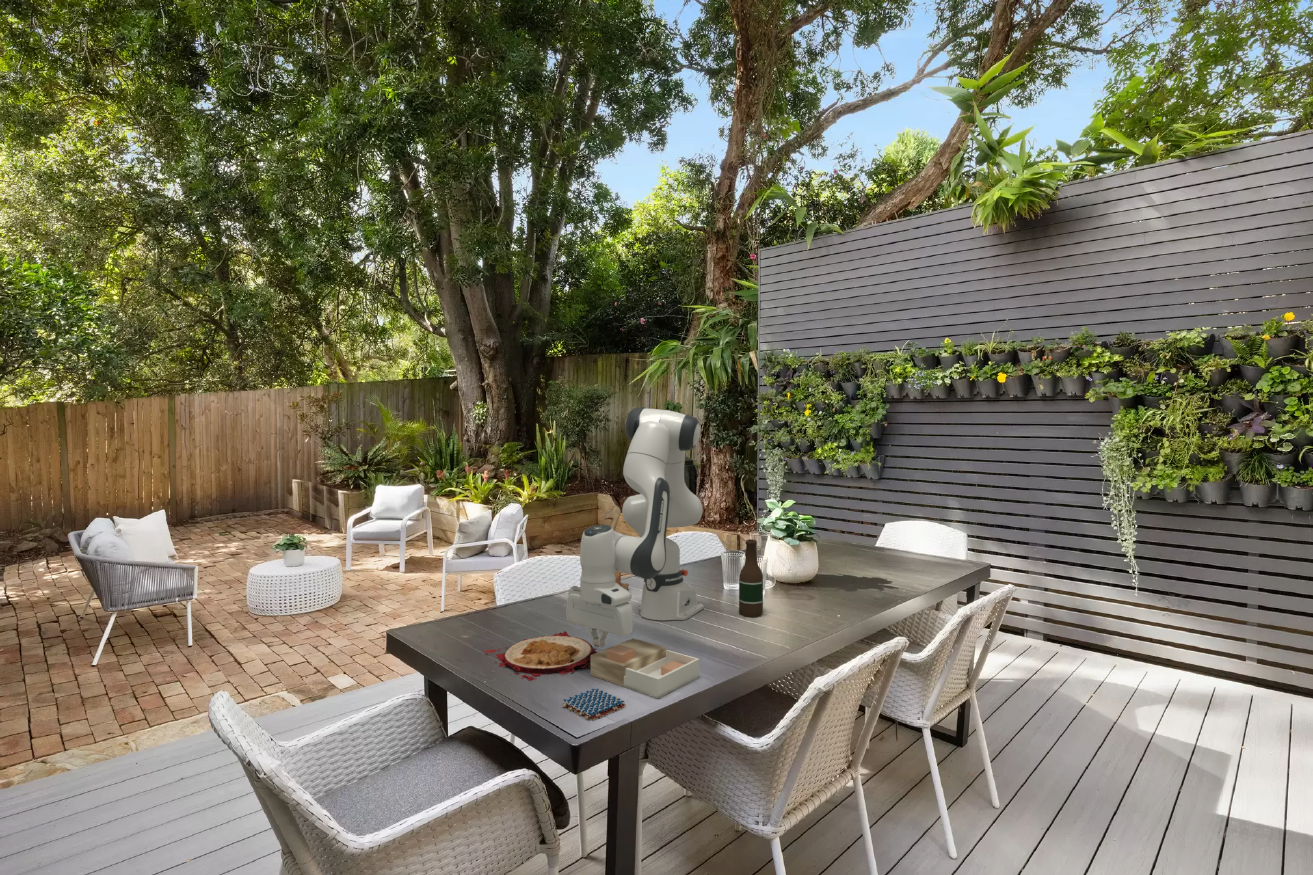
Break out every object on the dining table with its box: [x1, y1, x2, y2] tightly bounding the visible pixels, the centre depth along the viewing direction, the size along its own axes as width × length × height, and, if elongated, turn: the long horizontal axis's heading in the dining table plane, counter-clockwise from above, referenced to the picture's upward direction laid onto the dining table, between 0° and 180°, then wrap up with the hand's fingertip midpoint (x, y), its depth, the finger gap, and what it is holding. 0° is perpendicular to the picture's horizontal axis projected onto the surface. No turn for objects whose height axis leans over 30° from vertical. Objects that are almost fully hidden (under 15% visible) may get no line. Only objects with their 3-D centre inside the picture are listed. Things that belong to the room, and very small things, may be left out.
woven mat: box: [562, 688, 627, 722], centre depth 146 cm, size 10×11×2 cm
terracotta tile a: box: [661, 661, 685, 676], centre depth 163 cm, size 5×5×2 cm
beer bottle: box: [738, 538, 764, 618], centre depth 213 cm, size 8×8×24 cm
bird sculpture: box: [604, 504, 630, 591], centre depth 239 cm, size 11×12×32 cm
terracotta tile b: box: [607, 645, 636, 663], centre depth 162 cm, size 5×5×2 cm
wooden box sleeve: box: [590, 637, 667, 688], centre depth 167 cm, size 16×11×5 cm
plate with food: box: [484, 631, 598, 682], centre depth 176 cm, size 25×26×4 cm
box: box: [624, 649, 700, 700], centre depth 160 cm, size 16×10×4 cm, turn 141°
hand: (598, 645), depth 167 cm, fingers closed
